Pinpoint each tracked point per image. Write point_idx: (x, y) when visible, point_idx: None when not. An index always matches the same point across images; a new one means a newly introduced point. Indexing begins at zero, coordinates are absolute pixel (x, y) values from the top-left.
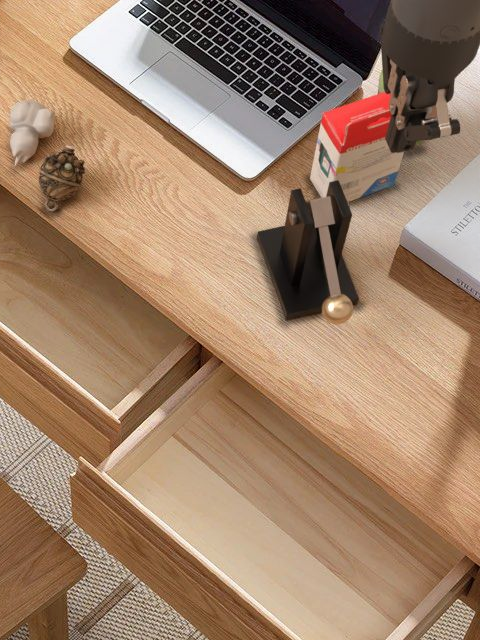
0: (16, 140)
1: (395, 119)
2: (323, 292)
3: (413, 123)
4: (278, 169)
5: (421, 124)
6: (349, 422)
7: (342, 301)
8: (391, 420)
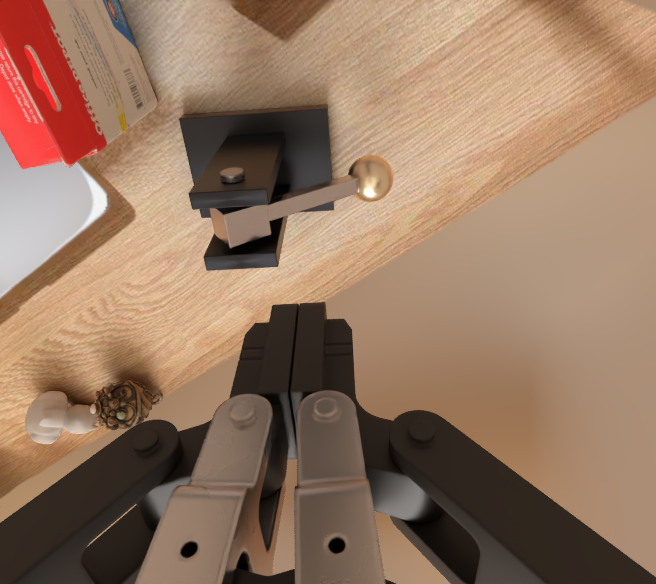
0: (80, 433)
1: (294, 455)
2: (308, 156)
3: (389, 510)
4: (88, 158)
5: (408, 497)
6: (495, 161)
7: (374, 183)
8: (513, 105)
